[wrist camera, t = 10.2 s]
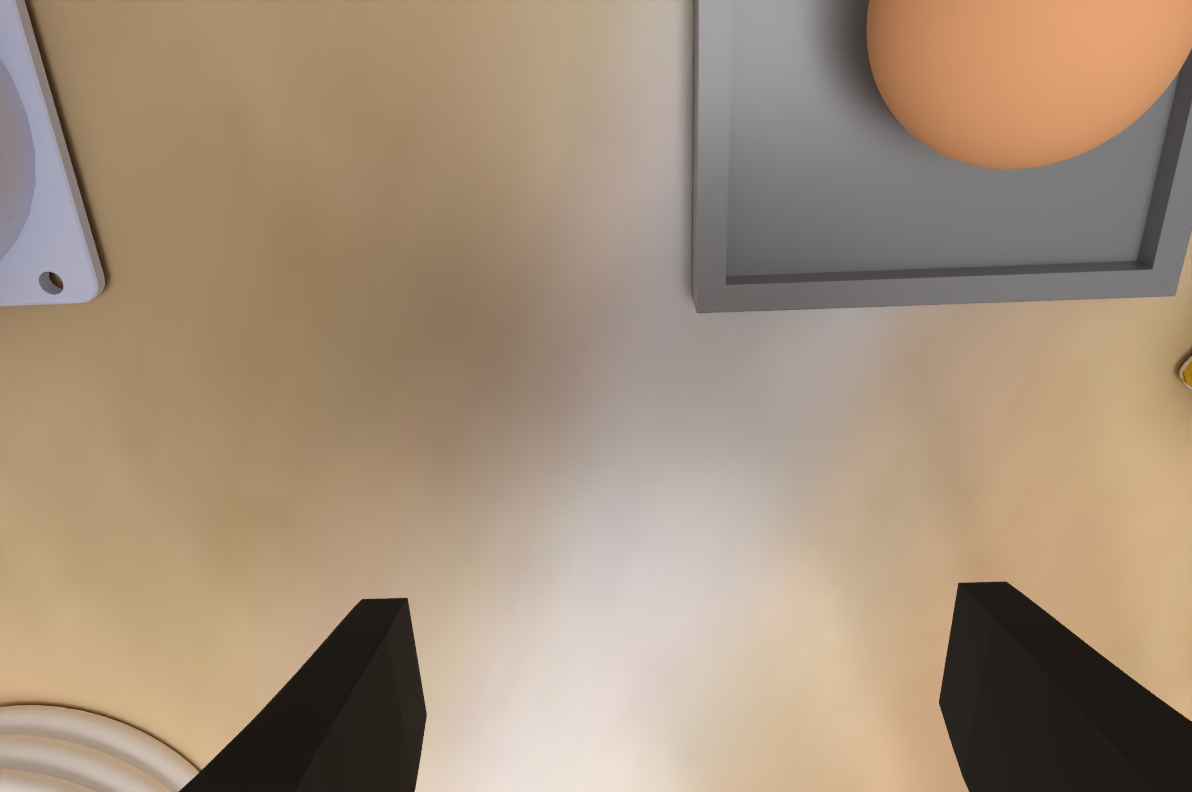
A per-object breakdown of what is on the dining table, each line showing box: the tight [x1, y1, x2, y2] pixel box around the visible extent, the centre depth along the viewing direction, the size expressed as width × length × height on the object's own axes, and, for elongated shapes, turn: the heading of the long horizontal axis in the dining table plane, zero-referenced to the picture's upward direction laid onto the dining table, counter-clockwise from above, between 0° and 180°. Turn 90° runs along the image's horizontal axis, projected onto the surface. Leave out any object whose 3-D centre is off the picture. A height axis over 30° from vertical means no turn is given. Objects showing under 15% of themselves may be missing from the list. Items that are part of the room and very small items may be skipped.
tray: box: [692, 0, 1192, 313], centre depth 17 cm, size 10×11×1 cm
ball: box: [866, 0, 1192, 169], centre depth 15 cm, size 5×5×5 cm
